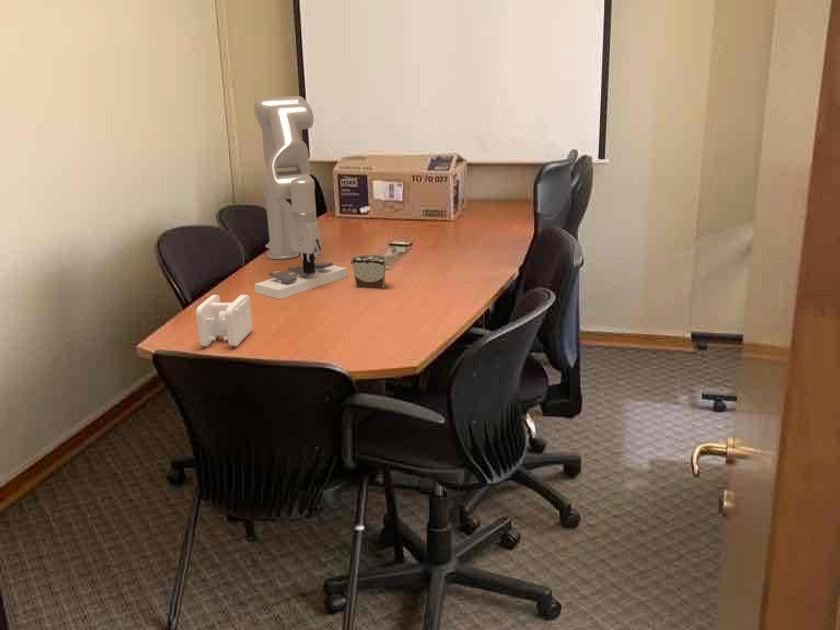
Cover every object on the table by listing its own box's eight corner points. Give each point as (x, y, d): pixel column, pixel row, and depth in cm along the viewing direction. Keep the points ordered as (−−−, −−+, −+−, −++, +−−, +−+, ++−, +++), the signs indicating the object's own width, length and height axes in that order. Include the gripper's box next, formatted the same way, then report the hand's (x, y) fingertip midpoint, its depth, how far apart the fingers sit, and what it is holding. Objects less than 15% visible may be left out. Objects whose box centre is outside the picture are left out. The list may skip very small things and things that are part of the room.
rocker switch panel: (255, 292, 283) (254, 281, 282) (323, 271, 304) (322, 260, 303) (279, 299, 275) (278, 287, 274) (347, 276, 297) (346, 265, 295)
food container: (394, 284, 286) (392, 254, 283) (387, 290, 280) (385, 259, 277) (359, 282, 290) (357, 253, 287) (352, 287, 284) (350, 258, 281)
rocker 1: (268, 275, 284) (268, 272, 284) (278, 272, 287) (278, 269, 286) (287, 283, 279) (287, 280, 278) (296, 280, 282) (296, 277, 281)
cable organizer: (219, 330, 249) (214, 291, 246) (255, 331, 248) (250, 292, 244) (199, 349, 235) (194, 308, 231) (237, 350, 234) (232, 309, 230)
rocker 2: (287, 270, 290) (287, 267, 289) (296, 267, 293) (296, 264, 292) (306, 276, 284) (306, 273, 284) (315, 273, 287) (315, 270, 287)
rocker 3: (306, 267, 296) (305, 264, 295) (315, 265, 298) (314, 261, 298) (324, 268, 290) (323, 264, 289) (332, 265, 292) (332, 262, 292)
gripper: (280, 217, 282) (285, 272, 288) (312, 221, 273) (316, 278, 278) (297, 212, 287) (302, 267, 293) (329, 217, 278) (333, 273, 283)
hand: (309, 272), depth 286 cm, fingers closed
